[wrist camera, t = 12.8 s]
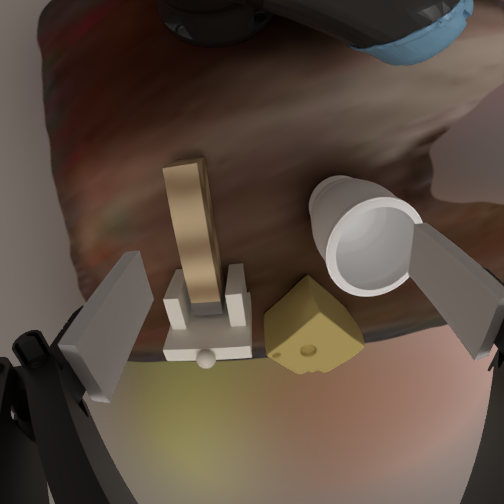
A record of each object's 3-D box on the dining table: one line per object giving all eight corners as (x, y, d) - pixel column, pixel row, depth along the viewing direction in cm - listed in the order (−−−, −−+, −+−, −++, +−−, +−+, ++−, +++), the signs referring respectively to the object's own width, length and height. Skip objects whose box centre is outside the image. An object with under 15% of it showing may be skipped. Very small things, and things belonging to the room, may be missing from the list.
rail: (174, 160, 37) (161, 168, 32) (205, 156, 37) (197, 163, 32) (199, 291, 46) (193, 315, 40) (226, 289, 46) (223, 314, 40)
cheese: (304, 343, 51) (313, 386, 42) (259, 311, 47) (261, 355, 38) (350, 306, 47) (368, 347, 38) (307, 268, 44) (320, 308, 35)
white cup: (309, 247, 43) (335, 309, 29) (292, 178, 38) (315, 213, 25) (377, 228, 41) (427, 280, 28) (366, 159, 37) (423, 185, 24)
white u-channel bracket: (172, 269, 44) (146, 329, 31) (246, 262, 44) (244, 324, 31) (183, 308, 47) (164, 372, 34) (251, 303, 47) (252, 370, 34)
